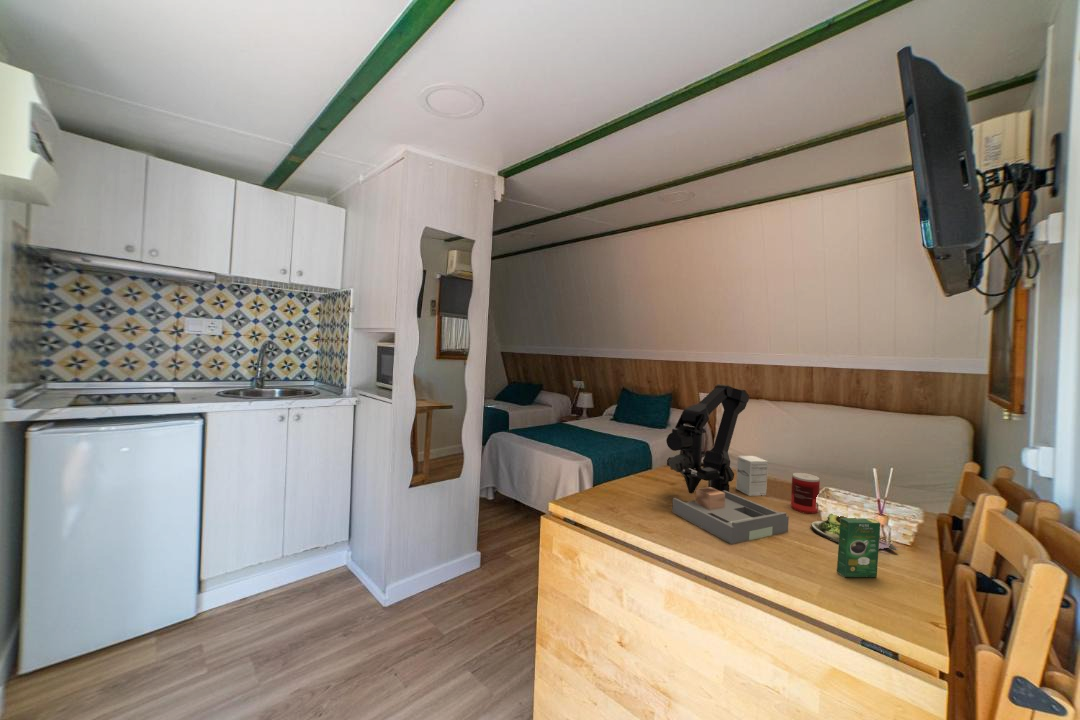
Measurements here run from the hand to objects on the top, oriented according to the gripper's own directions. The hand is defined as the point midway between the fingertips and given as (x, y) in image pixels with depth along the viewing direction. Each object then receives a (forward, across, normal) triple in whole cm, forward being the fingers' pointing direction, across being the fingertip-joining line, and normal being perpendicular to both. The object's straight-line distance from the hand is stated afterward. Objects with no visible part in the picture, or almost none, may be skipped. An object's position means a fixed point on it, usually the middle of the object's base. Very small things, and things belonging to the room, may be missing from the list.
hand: (691, 493), depth 142 cm
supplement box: (+4, -1, +30) cm, 30 cm away
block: (+1, +8, 0) cm, 8 cm away
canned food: (+4, +17, +33) cm, 37 cm away
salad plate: (+4, +35, +26) cm, 43 cm away
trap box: (+4, +15, 0) cm, 16 cm away
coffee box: (+4, +49, +5) cm, 49 cm away
